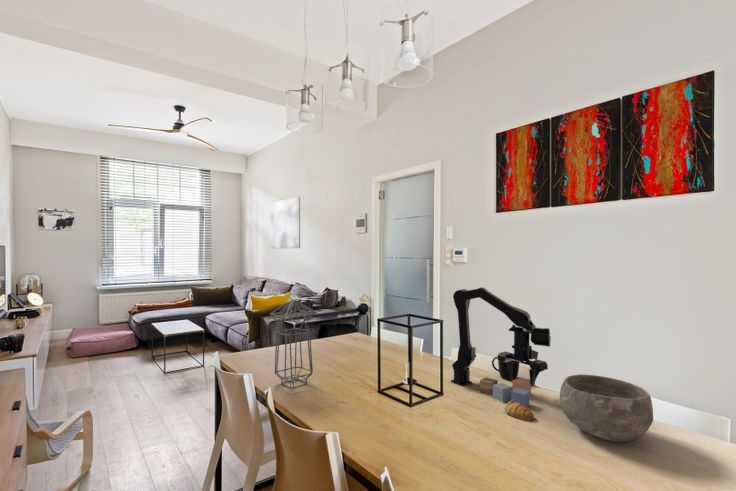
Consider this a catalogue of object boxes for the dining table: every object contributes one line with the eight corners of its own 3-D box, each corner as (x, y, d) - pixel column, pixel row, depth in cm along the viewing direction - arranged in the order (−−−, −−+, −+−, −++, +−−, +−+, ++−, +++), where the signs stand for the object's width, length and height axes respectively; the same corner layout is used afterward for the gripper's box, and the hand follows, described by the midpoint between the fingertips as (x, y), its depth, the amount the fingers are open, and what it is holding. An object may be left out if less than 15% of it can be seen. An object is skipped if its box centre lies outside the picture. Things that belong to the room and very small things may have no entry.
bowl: (658, 464, 100) (658, 407, 100) (556, 439, 113) (556, 389, 113) (649, 429, 120) (649, 381, 121) (563, 411, 133) (563, 368, 134)
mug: (522, 377, 169) (522, 355, 170) (515, 382, 162) (515, 359, 163) (495, 372, 177) (495, 350, 177) (488, 376, 170) (488, 354, 170)
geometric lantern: (286, 393, 147) (285, 303, 148) (268, 383, 159) (267, 300, 160) (320, 384, 157) (319, 299, 158) (300, 375, 169) (299, 297, 170)
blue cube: (525, 408, 136) (525, 394, 136) (511, 404, 139) (511, 391, 139) (529, 404, 139) (529, 390, 139) (515, 400, 143) (515, 387, 143)
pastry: (538, 419, 127) (538, 407, 128) (526, 423, 124) (526, 412, 124) (514, 409, 135) (514, 398, 135) (502, 413, 132) (502, 402, 132)
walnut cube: (491, 396, 147) (491, 383, 147) (479, 392, 151) (479, 380, 151) (497, 393, 151) (497, 380, 151) (485, 389, 154) (486, 377, 154)
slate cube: (502, 402, 141) (502, 389, 141) (492, 397, 145) (492, 384, 145) (512, 400, 143) (512, 387, 143) (502, 395, 148) (502, 382, 148)
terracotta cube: (523, 397, 146) (523, 384, 146) (512, 393, 150) (512, 380, 150) (531, 394, 149) (531, 382, 149) (519, 390, 153) (519, 378, 153)
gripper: (555, 345, 147) (555, 385, 147) (513, 336, 162) (512, 372, 162) (539, 349, 141) (539, 391, 140) (496, 339, 156) (496, 377, 156)
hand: (521, 382), depth 150 cm, fingers open, 9 cm apart
